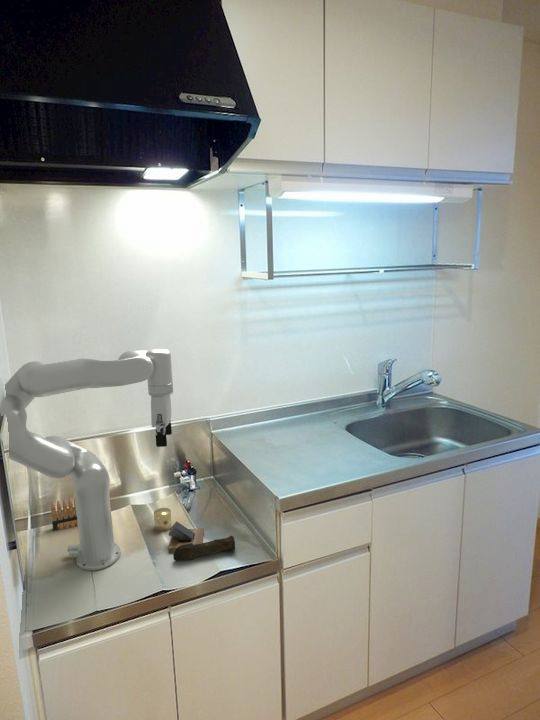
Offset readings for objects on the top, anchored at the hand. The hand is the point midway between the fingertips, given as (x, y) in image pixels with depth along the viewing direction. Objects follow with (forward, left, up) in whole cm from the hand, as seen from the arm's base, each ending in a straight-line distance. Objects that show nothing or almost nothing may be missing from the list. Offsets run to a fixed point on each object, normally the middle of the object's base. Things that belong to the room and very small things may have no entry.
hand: (164, 440), depth 145 cm
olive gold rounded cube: (-3, +3, -33) cm, 34 cm away
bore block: (+6, -6, -33) cm, 34 cm away
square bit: (+7, -6, -32) cm, 33 cm away
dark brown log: (+18, -12, -37) cm, 42 cm away
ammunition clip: (-35, +5, -34) cm, 49 cm away
